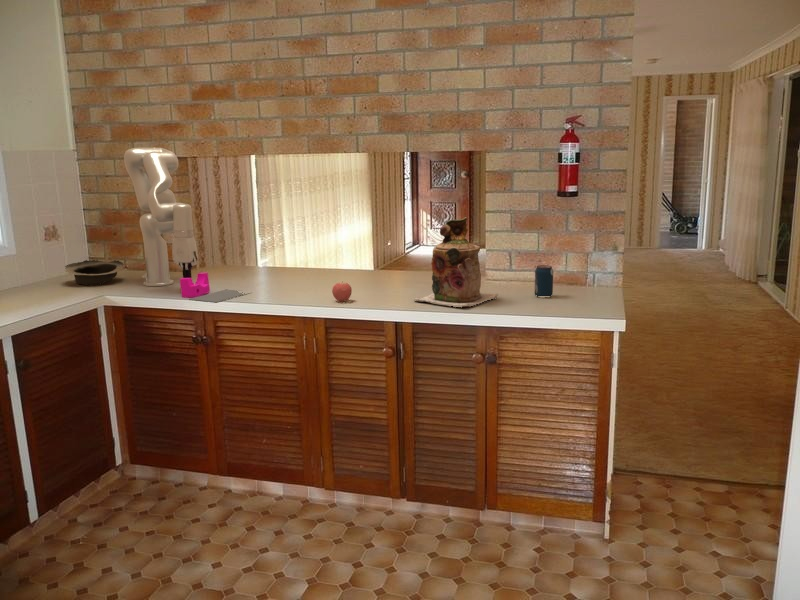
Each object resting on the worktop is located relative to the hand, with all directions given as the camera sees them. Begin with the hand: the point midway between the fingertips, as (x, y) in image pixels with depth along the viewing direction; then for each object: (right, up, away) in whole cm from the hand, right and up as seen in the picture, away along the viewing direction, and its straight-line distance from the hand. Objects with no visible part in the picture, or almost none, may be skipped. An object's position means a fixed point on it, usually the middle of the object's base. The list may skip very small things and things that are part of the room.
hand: (187, 278), depth 289 cm
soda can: (+144, -8, -16) cm, 145 cm away
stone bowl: (-50, -1, +28) cm, 57 cm away
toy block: (+5, -6, -2) cm, 9 cm away
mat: (+16, -7, -7) cm, 19 cm away
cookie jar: (+110, -9, -21) cm, 112 cm away
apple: (+66, -9, -19) cm, 69 cm away
